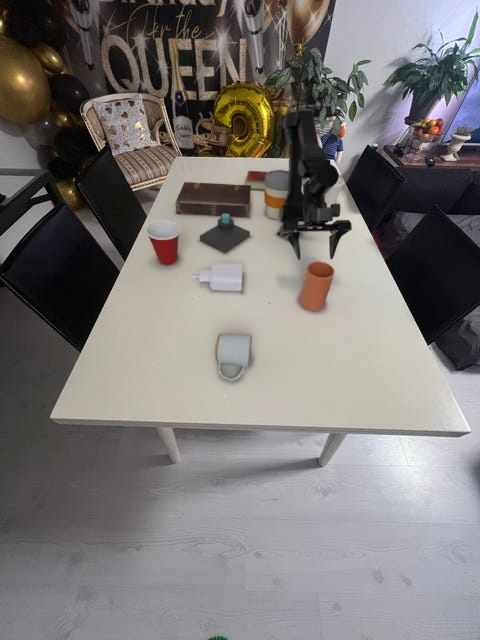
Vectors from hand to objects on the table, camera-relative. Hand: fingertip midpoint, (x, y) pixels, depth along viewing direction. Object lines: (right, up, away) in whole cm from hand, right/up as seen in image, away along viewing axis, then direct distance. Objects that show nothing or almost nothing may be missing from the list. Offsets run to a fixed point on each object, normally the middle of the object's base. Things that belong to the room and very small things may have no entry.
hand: (315, 259), depth 82 cm
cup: (0, -12, +5) cm, 13 cm away
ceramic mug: (-22, -27, -10) cm, 37 cm away
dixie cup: (+17, +34, +47) cm, 60 cm away
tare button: (-26, +20, +28) cm, 43 cm away
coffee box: (+10, +50, +62) cm, 81 cm away
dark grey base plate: (-26, +13, +27) cm, 40 cm away
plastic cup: (-45, +3, +17) cm, 48 cm away
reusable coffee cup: (-6, +27, +40) cm, 49 cm away
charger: (-28, -5, +10) cm, 30 cm away
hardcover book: (-7, +47, +58) cm, 75 cm away
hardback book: (-31, +32, +44) cm, 63 cm away
